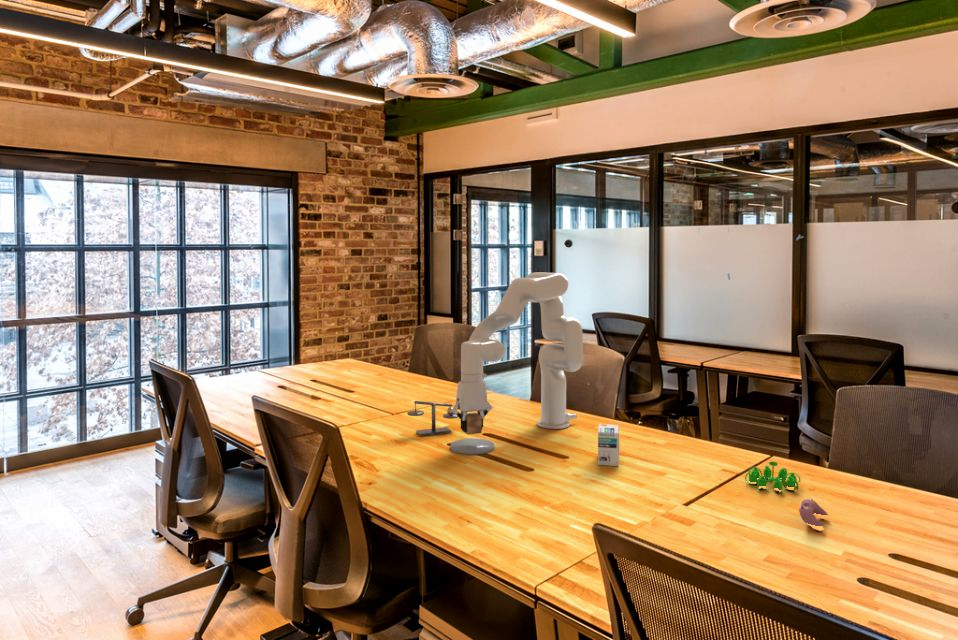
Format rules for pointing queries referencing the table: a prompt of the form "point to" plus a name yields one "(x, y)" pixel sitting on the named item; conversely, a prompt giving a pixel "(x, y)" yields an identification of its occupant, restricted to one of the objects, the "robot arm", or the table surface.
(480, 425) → the walnut block
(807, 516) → the purple rounded piece
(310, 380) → the table surface
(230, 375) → the table surface
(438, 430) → the balance
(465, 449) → the dish
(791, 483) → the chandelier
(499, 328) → the robot arm
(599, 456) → the light bulb box
